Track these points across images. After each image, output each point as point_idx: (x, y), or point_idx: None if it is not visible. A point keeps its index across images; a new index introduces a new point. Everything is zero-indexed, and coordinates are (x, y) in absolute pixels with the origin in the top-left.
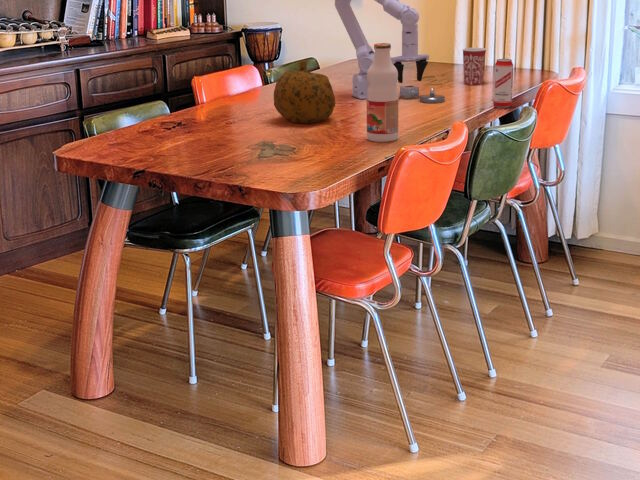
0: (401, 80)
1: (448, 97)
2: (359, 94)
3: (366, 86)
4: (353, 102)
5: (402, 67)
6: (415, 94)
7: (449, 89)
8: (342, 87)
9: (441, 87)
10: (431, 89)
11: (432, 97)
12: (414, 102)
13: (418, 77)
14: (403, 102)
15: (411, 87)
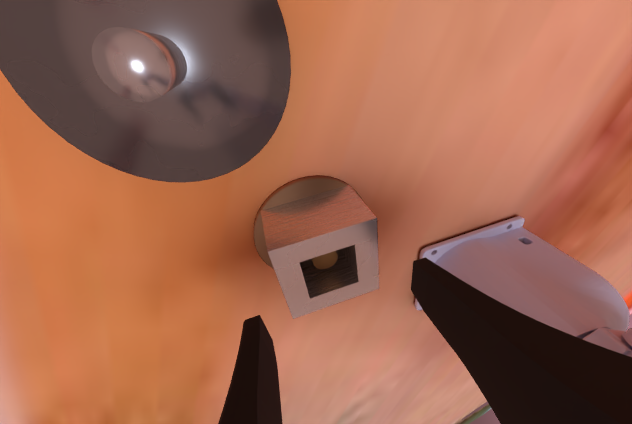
0: (437, 269)
1: (3, 191)
2: (533, 234)
3: (537, 268)
4: (579, 159)
5: (585, 382)
6: (289, 211)
7: (48, 396)
8: (438, 372)
9: (105, 419)
10: (148, 36)
11: (158, 17)
12: (332, 49)
13: (269, 355)
14: (400, 79)
15: (330, 242)
